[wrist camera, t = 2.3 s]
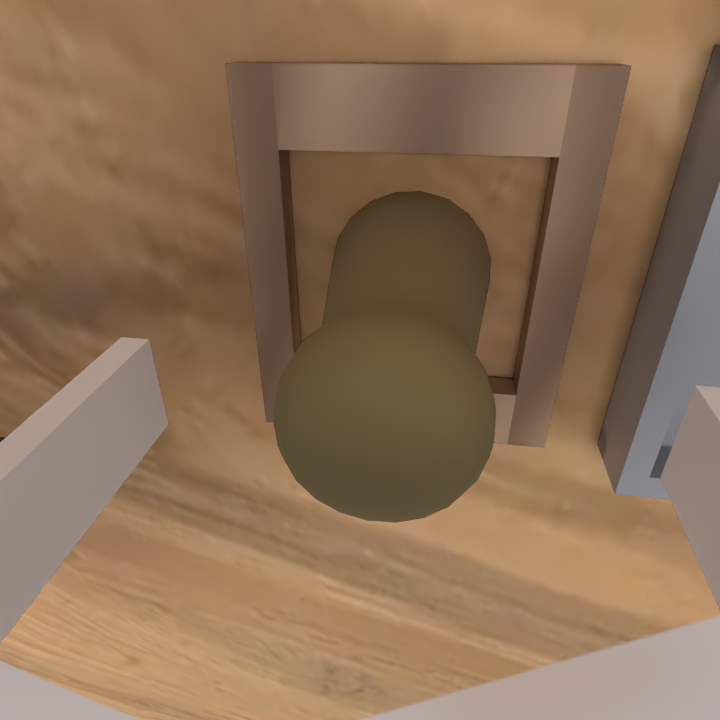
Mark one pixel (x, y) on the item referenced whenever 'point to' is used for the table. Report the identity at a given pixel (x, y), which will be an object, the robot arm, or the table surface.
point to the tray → (672, 316)
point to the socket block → (430, 136)
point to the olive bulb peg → (394, 366)
